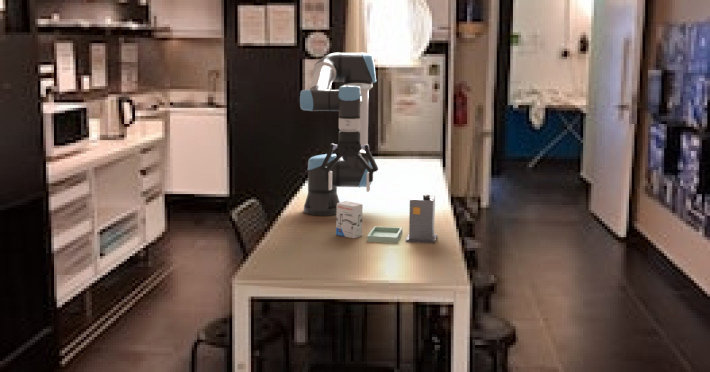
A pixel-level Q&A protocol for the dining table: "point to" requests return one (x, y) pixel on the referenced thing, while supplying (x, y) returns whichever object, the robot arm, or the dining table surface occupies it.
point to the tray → (384, 234)
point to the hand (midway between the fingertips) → (349, 190)
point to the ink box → (349, 219)
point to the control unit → (422, 219)
